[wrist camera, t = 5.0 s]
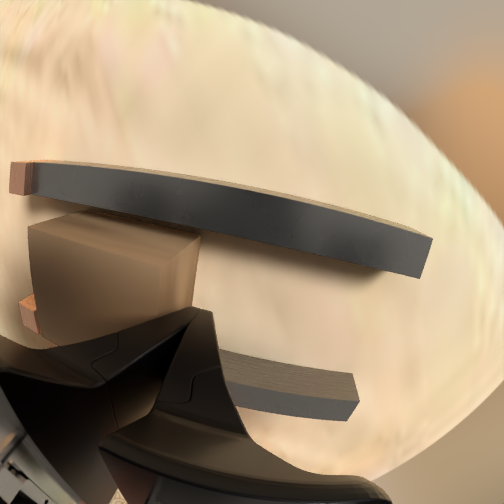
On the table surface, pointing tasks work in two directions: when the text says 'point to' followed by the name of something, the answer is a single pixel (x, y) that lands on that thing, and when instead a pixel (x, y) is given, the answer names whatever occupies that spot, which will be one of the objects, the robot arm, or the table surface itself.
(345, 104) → the table surface
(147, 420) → the robot arm
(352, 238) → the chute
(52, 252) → the walnut block
